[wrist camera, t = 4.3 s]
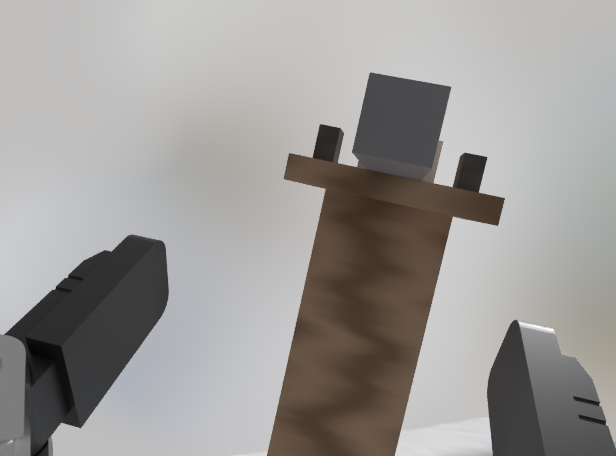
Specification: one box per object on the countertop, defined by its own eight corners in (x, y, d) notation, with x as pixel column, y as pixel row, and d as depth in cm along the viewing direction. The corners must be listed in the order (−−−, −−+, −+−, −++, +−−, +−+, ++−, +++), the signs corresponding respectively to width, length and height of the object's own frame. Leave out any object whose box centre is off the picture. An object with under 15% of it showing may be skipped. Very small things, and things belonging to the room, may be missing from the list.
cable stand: (166, 670, 30) (284, 113, 27) (239, 524, 44) (322, 144, 41) (377, 756, 28) (529, 161, 25) (384, 573, 42) (481, 177, 39)
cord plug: (362, 176, 38) (371, 136, 38) (426, 190, 38) (436, 149, 37) (326, 146, 19) (344, 62, 18) (459, 174, 18) (480, 86, 18)
